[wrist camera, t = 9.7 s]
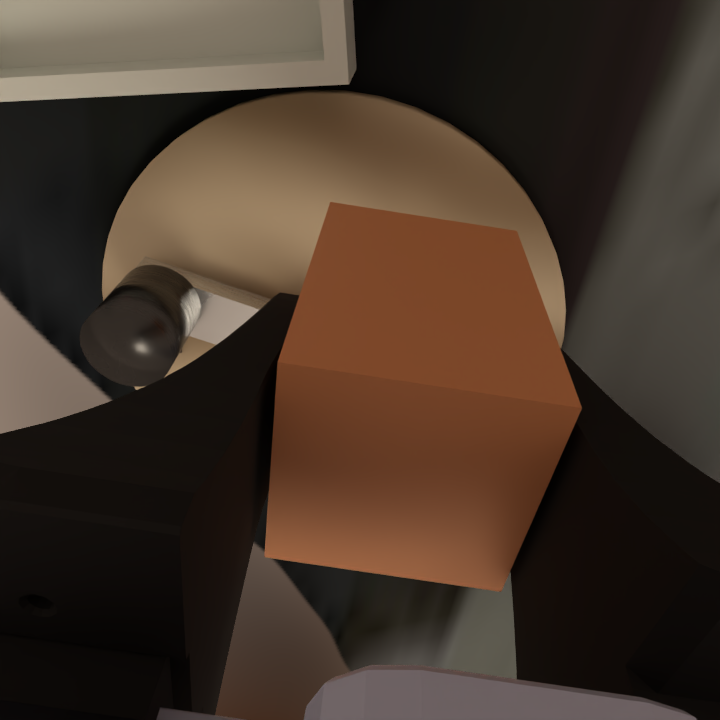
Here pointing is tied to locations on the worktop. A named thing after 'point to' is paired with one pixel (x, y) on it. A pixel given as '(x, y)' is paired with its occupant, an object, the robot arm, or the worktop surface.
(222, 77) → the tray
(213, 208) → the crank plate
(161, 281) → the dark grey cylinder
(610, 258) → the worktop surface
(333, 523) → the block
